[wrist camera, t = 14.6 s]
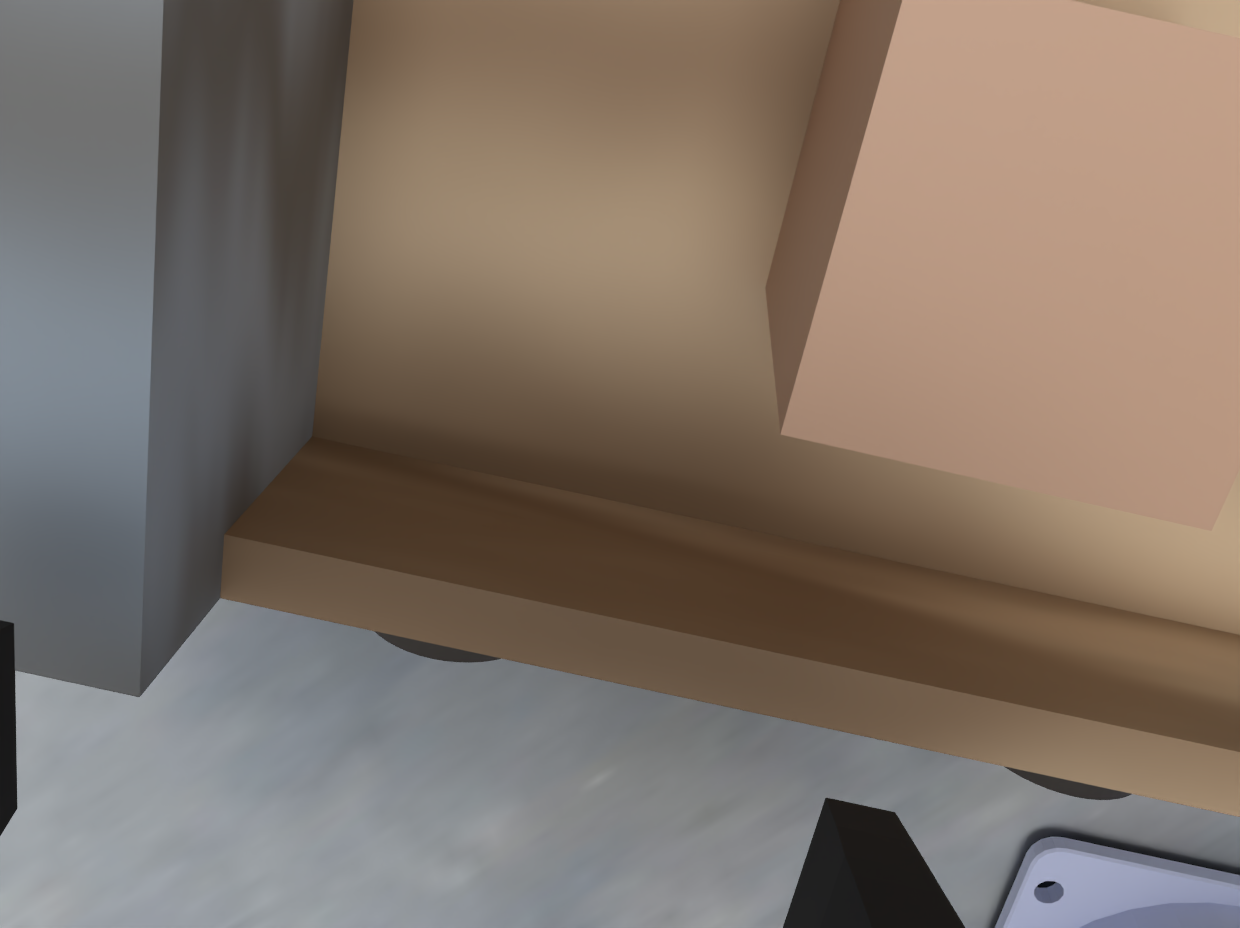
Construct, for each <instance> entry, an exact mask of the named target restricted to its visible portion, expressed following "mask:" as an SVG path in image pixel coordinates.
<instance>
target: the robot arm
mask: <svg viewBox="0 0 1240 928" xmlns="http://www.w3.org/2000/svg"><path fill="white" fill-rule="evenodd" d="M16 810H17V767H16V707H15V647H14V623H11V622H7V621H2V620H0V835H1V834H2V832H3V831H4V829H5V827H6V826H7V824H8V823H9V821H10V819H11V818H12V816H13V814H14V813H15V811H16ZM1045 881H1055V884H1054V885H1052V886H1049V887H1047V888H1039V887H1037V886H1038V884H1040V883H1042V882H1045ZM783 928H965V926H964V925H963V923H962V922H961V920H960V918H959V917H958V915H957V913H956V912H955V910H954V909H953V907H952V905H951V904H950V902H949V900H948V899H947V897H946V895H945V894H944V892H943V890H942V889H941V887H940V885H939V884H938V882H937V880H936V879H935V877H934V875H933V874H932V872H931V870H930V869H929V867H928V865H927V864H926V862H925V861H924V859H923V857H922V856H921V854H920V852H919V851H918V849H917V847H916V846H915V844H914V842H913V841H912V839H911V837H910V836H909V834H908V833H907V831H906V829H905V828H904V826H903V825H902V823H901V821H900V820H899V818H898V816H897V815H896V813H895V812H891V811H886V810H881V809H877V808H872V807H867V806H863V805H858V804H853V803H849V802H844V801H839V800H835V799H830V798H826V799H825V802H824V805H823V808H822V811H821V814H820V817H819V820H818V823H817V826H816V829H815V832H814V835H813V838H812V841H811V844H810V847H809V850H808V853H807V856H806V859H805V862H804V865H803V868H802V872H801V875H800V878H799V881H798V884H797V887H796V890H795V893H794V896H793V899H792V902H791V905H790V908H789V911H788V914H787V917H786V920H785V923H784V926H783ZM995 928H1240V875H1236V874H1232V873H1227V872H1222V871H1218V870H1213V869H1208V868H1204V867H1199V866H1195V865H1190V864H1185V863H1181V862H1176V861H1171V860H1167V859H1162V858H1157V857H1153V856H1148V855H1143V854H1139V853H1134V852H1129V851H1125V850H1120V849H1115V848H1111V847H1106V846H1101V845H1097V844H1092V843H1088V842H1083V841H1078V840H1074V839H1069V838H1064V837H1048V838H1044V839H1040V840H1039V841H1037V842H1036V843H1034V844H1033V845H1032V846H1031V847H1030V849H1029V850H1028V851H1027V853H1026V855H1025V858H1024V860H1023V862H1022V865H1021V867H1020V869H1019V872H1018V874H1017V876H1016V879H1015V881H1014V883H1013V886H1012V888H1011V891H1010V893H1009V895H1008V898H1007V900H1006V902H1005V905H1004V907H1003V909H1002V912H1001V914H1000V916H999V919H998V921H997V923H996V926H995Z"/></svg>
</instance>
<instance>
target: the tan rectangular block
mask: <svg viewBox="0 0 1240 928" xmlns="http://www.w3.org/2000/svg"><path fill="white" fill-rule="evenodd" d="M765 290H766V300H767V309H768V319H769V329H770V338H771V348H772V358H773V367H774V377H775V387H776V396H777V406H778V416H779V426H780V435H785V436H789V437H794V438H798V439H803V440H807V441H812V442H816V443H821V444H825V445H829V446H834V447H838V448H843V449H847V450H852V451H856V452H861V453H865V454H870V455H874V456H879V457H883V458H888V459H892V460H896V461H901V462H905V463H910V464H914V465H919V466H923V467H928V468H932V469H937V470H941V471H946V472H950V473H954V474H959V475H963V476H968V477H972V478H977V479H981V480H986V481H990V482H995V483H999V484H1004V485H1008V486H1013V487H1017V488H1021V489H1026V490H1030V491H1035V492H1039V493H1044V494H1048V495H1053V496H1057V497H1062V498H1066V499H1071V500H1075V501H1079V502H1084V503H1088V504H1093V505H1097V506H1102V507H1106V508H1111V509H1115V510H1120V511H1124V512H1129V513H1133V514H1138V515H1142V516H1146V517H1151V518H1155V519H1160V520H1164V521H1169V522H1173V523H1178V524H1182V525H1187V526H1191V527H1196V528H1200V529H1204V530H1209V531H1212V529H1213V527H1214V524H1215V522H1216V520H1217V518H1218V516H1219V513H1220V511H1221V509H1222V507H1223V505H1224V503H1225V500H1226V498H1227V496H1228V494H1229V492H1230V489H1231V487H1232V485H1233V483H1234V481H1235V478H1236V476H1237V474H1238V472H1239V470H1240V38H1238V37H1233V36H1229V35H1224V34H1220V33H1215V32H1211V31H1206V30H1202V29H1197V28H1193V27H1188V26H1184V25H1179V24H1175V23H1171V22H1166V21H1162V20H1157V19H1153V18H1148V17H1144V16H1139V15H1135V14H1130V13H1126V12H1121V11H1117V10H1112V9H1108V8H1103V7H1099V6H1095V5H1090V4H1086V3H1081V2H1077V1H1072V0H840V3H839V7H838V11H837V15H836V19H835V22H834V26H833V30H832V34H831V38H830V42H829V45H828V49H827V53H826V57H825V61H824V65H823V68H822V72H821V76H820V80H819V84H818V88H817V91H816V95H815V99H814V103H813V107H812V110H811V114H810V118H809V122H808V126H807V130H806V133H805V137H804V141H803V145H802V149H801V153H800V156H799V160H798V164H797V168H796V172H795V176H794V179H793V183H792V187H791V191H790V195H789V199H788V202H787V206H786V210H785V214H784V218H783V222H782V225H781V229H780V233H779V237H778V241H777V245H776V248H775V252H774V256H773V260H772V264H771V268H770V271H769V275H768V279H767V283H766V287H765Z"/></svg>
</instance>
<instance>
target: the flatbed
mask: <svg viewBox="0 0 1240 928" xmlns="http://www.w3.org/2000/svg"><path fill="white" fill-rule="evenodd" d="M1072 1H1077V2H1081V3H1086V4H1090V5H1095V6H1099V7H1103V8H1108V9H1112V10H1117V11H1121V12H1126V13H1130V14H1135V15H1139V16H1144V17H1148V18H1153V19H1157V20H1162V21H1166V22H1171V23H1175V24H1179V25H1184V26H1188V27H1193V28H1197V29H1202V30H1206V31H1211V32H1215V33H1220V34H1224V35H1229V36H1233V37H1238V38H1240V0H1072ZM839 3H840V0H0V620H2V621H7V622H11V623H14V647H15V670H16V671H20V672H25V673H30V674H34V675H39V676H44V677H48V678H53V679H57V680H62V681H67V682H71V683H76V684H81V685H85V686H90V687H95V688H99V689H104V690H109V691H113V692H118V693H123V694H127V695H132V696H136V697H140V696H141V695H142V694H143V692H144V691H145V690H146V689H147V687H148V686H149V685H150V684H151V682H152V681H153V680H154V679H155V678H156V676H157V675H158V674H159V673H160V671H161V670H162V669H163V668H164V666H165V665H166V664H167V663H168V662H169V660H170V659H171V658H172V657H173V655H174V654H175V653H176V652H177V650H178V649H179V648H180V647H181V646H182V644H183V643H184V642H185V641H186V639H187V638H188V637H189V636H190V634H191V633H192V632H193V631H194V630H195V628H196V627H197V626H198V625H199V623H200V622H201V621H202V620H203V618H204V617H205V616H206V615H207V614H208V612H209V611H210V610H211V609H212V607H213V606H214V605H215V604H216V602H217V601H218V600H219V599H220V598H223V599H227V600H232V601H237V602H241V603H246V604H251V605H255V606H260V607H265V608H269V609H274V610H279V611H283V612H288V613H293V614H297V615H302V616H306V617H311V618H316V619H320V620H325V621H330V622H334V623H339V624H344V625H348V626H353V627H358V628H362V629H367V630H372V631H375V632H376V633H377V634H378V635H379V636H381V637H382V638H383V639H385V640H386V641H388V642H390V643H391V644H393V645H395V646H397V647H399V648H401V649H403V650H406V651H408V652H411V653H414V654H417V655H420V656H424V657H428V658H432V659H437V660H443V661H452V662H484V661H491V660H497V659H501V658H502V659H507V660H511V661H516V662H521V663H525V664H530V665H535V666H539V667H544V668H549V669H553V670H558V671H563V672H567V673H572V674H577V675H581V676H586V677H591V678H595V679H600V680H605V681H609V682H614V683H618V684H623V685H628V686H632V687H637V688H642V689H646V690H651V691H656V692H660V693H665V694H670V695H674V696H679V697H684V698H688V699H693V700H698V701H702V702H707V703H712V704H716V705H721V706H726V707H730V708H735V709H740V710H744V711H749V712H754V713H758V714H763V715H768V716H772V717H777V718H781V719H786V720H791V721H795V722H800V723H805V724H809V725H814V726H819V727H823V728H828V729H833V730H837V731H842V732H847V733H851V734H856V735H861V736H865V737H870V738H875V739H879V740H884V741H889V742H893V743H898V744H903V745H907V746H912V747H917V748H921V749H926V750H931V751H935V752H940V753H944V754H949V755H954V756H958V757H963V758H968V759H972V760H977V761H982V762H986V763H991V764H996V765H1000V766H1004V767H1006V768H1007V769H1009V770H1010V771H1012V772H1014V773H1016V774H1017V775H1019V776H1021V777H1023V778H1025V779H1027V780H1029V781H1031V782H1033V783H1035V784H1038V785H1040V786H1043V787H1045V788H1047V789H1050V790H1053V791H1056V792H1059V793H1062V794H1066V795H1070V796H1074V797H1080V798H1086V799H1095V800H1111V799H1119V798H1123V797H1126V796H1129V795H1131V794H1135V795H1140V796H1145V797H1149V798H1154V799H1159V800H1163V801H1168V802H1173V803H1177V804H1182V805H1187V806H1191V807H1196V808H1201V809H1205V810H1210V811H1215V812H1219V813H1224V814H1229V815H1233V816H1238V817H1240V470H1239V472H1238V474H1237V476H1236V478H1235V481H1234V483H1233V485H1232V487H1231V489H1230V492H1229V494H1228V496H1227V498H1226V500H1225V503H1224V505H1223V507H1222V509H1221V511H1220V513H1219V516H1218V518H1217V520H1216V522H1215V524H1214V527H1213V529H1212V531H1209V530H1204V529H1200V528H1196V527H1191V526H1187V525H1182V524H1178V523H1173V522H1169V521H1164V520H1160V519H1155V518H1151V517H1146V516H1142V515H1138V514H1133V513H1129V512H1124V511H1120V510H1115V509H1111V508H1106V507H1102V506H1097V505H1093V504H1088V503H1084V502H1079V501H1075V500H1071V499H1066V498H1062V497H1057V496H1053V495H1048V494H1044V493H1039V492H1035V491H1030V490H1026V489H1021V488H1017V487H1013V486H1008V485H1004V484H999V483H995V482H990V481H986V480H981V479H977V478H972V477H968V476H963V475H959V474H954V473H950V472H946V471H941V470H937V469H932V468H928V467H923V466H919V465H914V464H910V463H905V462H901V461H896V460H892V459H888V458H883V457H879V456H874V455H870V454H865V453H861V452H856V451H852V450H847V449H843V448H838V447H834V446H829V445H825V444H821V443H816V442H812V441H807V440H803V439H798V438H794V437H789V436H785V435H780V426H779V416H778V406H777V396H776V387H775V377H774V367H773V358H772V348H771V338H770V329H769V319H768V309H767V300H766V290H765V287H766V283H767V279H768V275H769V271H770V268H771V264H772V260H773V256H774V252H775V248H776V245H777V241H778V237H779V233H780V229H781V225H782V222H783V218H784V214H785V210H786V206H787V202H788V199H789V195H790V191H791V187H792V183H793V179H794V176H795V172H796V168H797V164H798V160H799V156H800V153H801V149H802V145H803V141H804V137H805V133H806V130H807V126H808V122H809V118H810V114H811V110H812V107H813V103H814V99H815V95H816V91H817V88H818V84H819V80H820V76H821V72H822V68H823V65H824V61H825V57H826V53H827V49H828V45H829V42H830V38H831V34H832V30H833V26H834V22H835V19H836V15H837V11H838V7H839Z"/></svg>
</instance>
